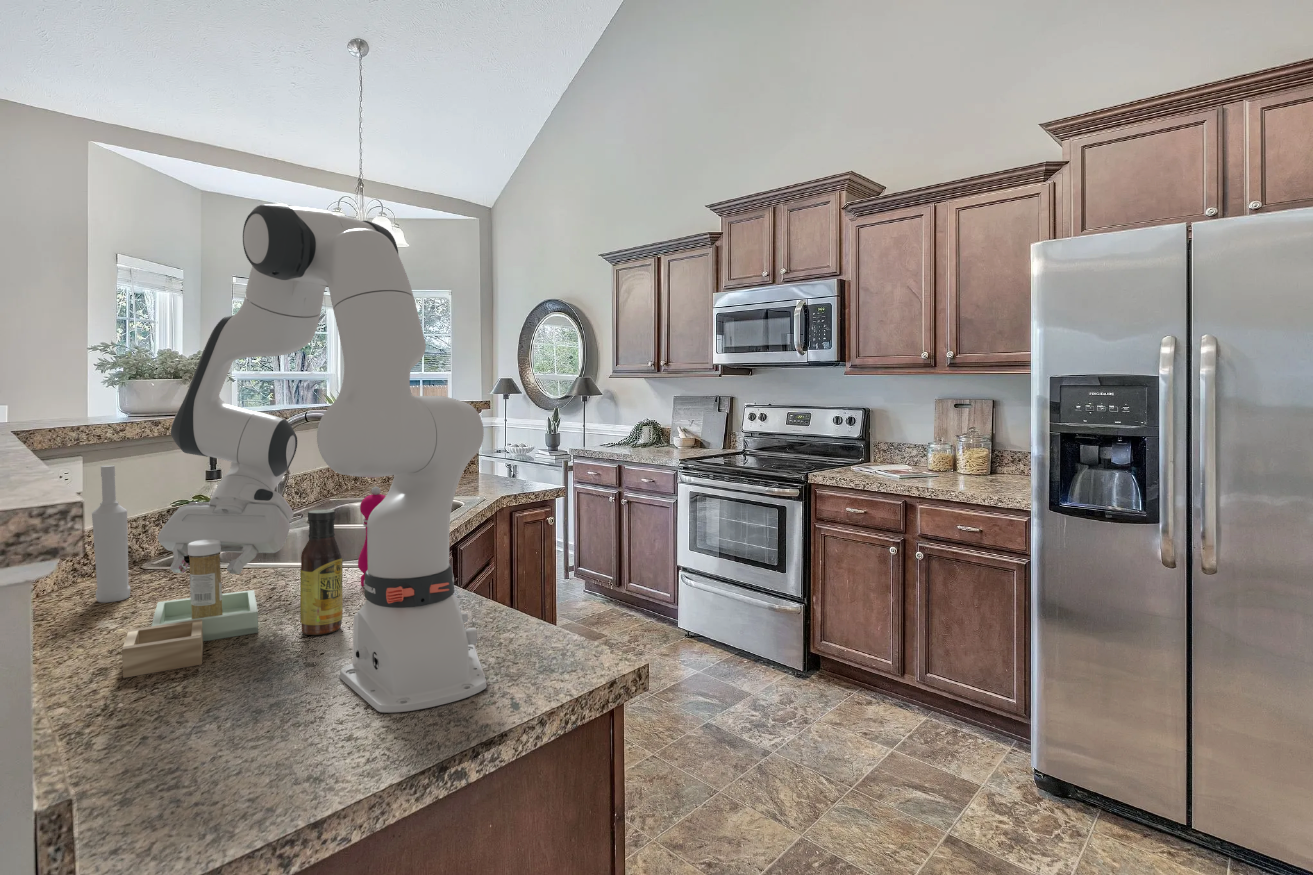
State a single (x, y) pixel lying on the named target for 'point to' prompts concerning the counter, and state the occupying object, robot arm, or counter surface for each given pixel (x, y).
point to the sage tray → (233, 622)
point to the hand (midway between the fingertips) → (204, 571)
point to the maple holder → (162, 648)
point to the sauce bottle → (321, 577)
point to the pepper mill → (366, 510)
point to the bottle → (110, 543)
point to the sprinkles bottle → (205, 578)
